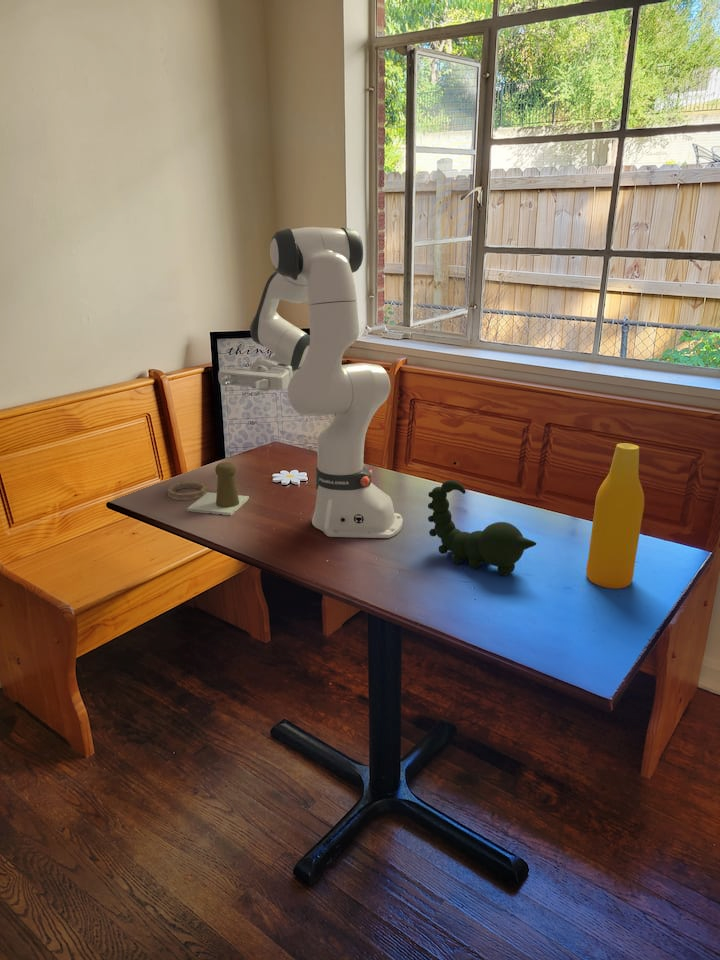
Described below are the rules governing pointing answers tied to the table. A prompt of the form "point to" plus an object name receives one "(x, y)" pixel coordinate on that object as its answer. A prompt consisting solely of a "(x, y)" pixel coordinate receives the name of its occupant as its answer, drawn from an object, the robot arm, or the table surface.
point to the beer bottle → (617, 521)
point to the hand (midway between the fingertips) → (238, 384)
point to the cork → (226, 485)
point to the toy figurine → (475, 536)
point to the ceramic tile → (209, 505)
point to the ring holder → (187, 495)
